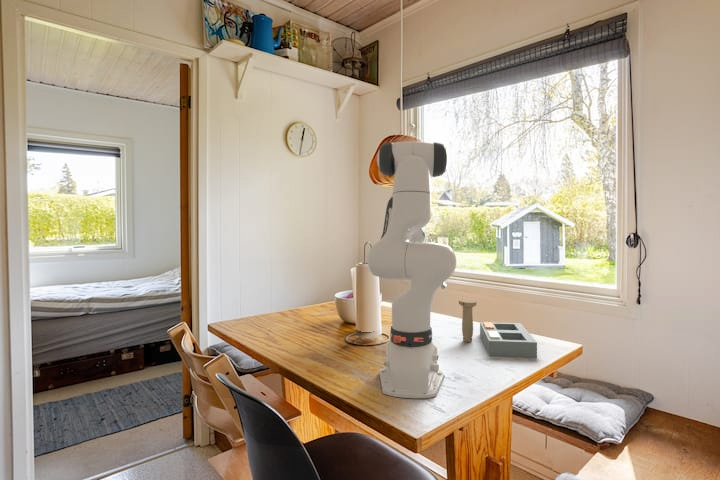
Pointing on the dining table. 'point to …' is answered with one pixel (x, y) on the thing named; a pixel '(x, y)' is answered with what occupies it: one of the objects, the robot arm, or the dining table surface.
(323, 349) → the dining table surface
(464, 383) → the dining table surface
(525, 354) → the socket board
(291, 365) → the dining table surface
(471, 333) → the handle
